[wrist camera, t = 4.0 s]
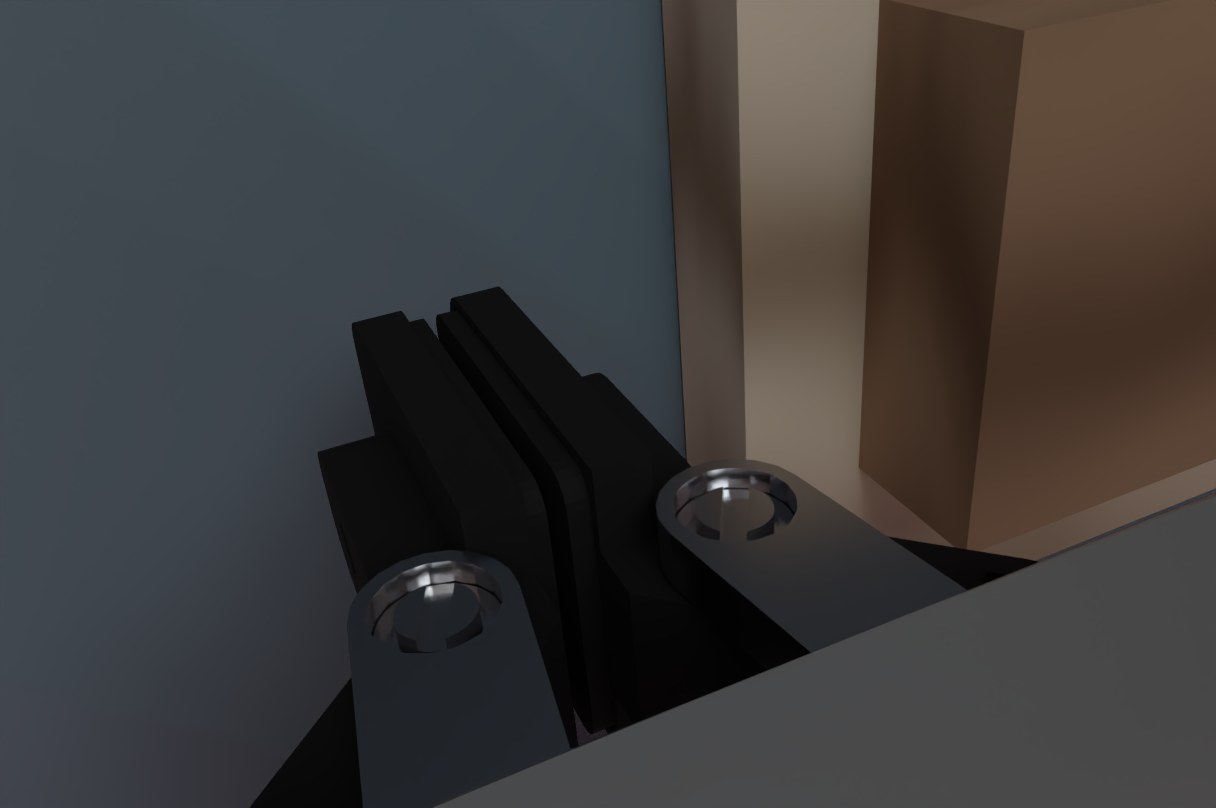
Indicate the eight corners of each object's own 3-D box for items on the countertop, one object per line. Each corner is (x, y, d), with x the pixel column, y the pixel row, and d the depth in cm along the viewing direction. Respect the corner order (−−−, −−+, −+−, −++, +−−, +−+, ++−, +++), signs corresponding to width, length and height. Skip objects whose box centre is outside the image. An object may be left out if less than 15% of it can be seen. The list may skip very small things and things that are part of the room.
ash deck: (644, -317, 12) (730, -336, 11) (1455, -376, 17) (1602, -396, 15) (695, 604, 20) (750, 675, 18) (1253, 396, 24) (1338, 438, 22)
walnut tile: (880, -2, 13) (1023, 31, 11) (1383, -97, 16) (1572, -85, 14) (858, 467, 17) (965, 555, 15) (1273, 324, 20) (1411, 382, 18)
